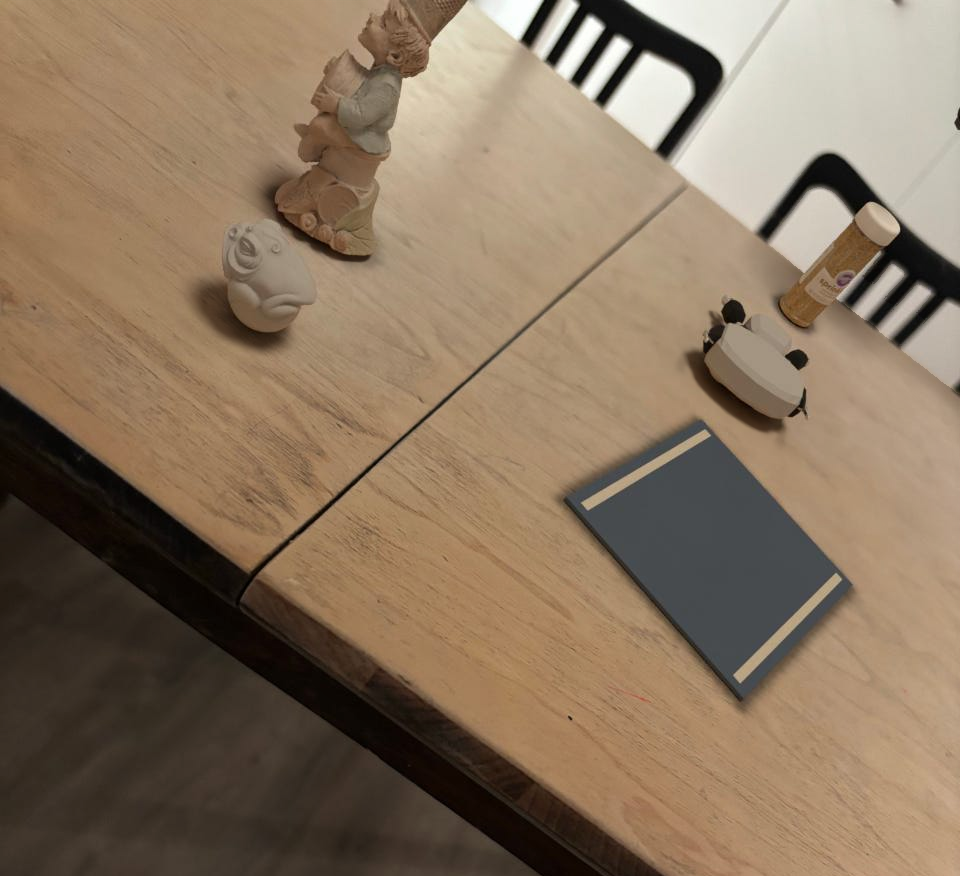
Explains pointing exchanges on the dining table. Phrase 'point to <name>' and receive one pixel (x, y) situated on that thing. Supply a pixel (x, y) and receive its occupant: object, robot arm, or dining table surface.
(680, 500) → the napkin
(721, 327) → the robot toy
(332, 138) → the figurine
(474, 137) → the dining table surface
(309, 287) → the frog figurine
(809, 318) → the sprinkles bottle
